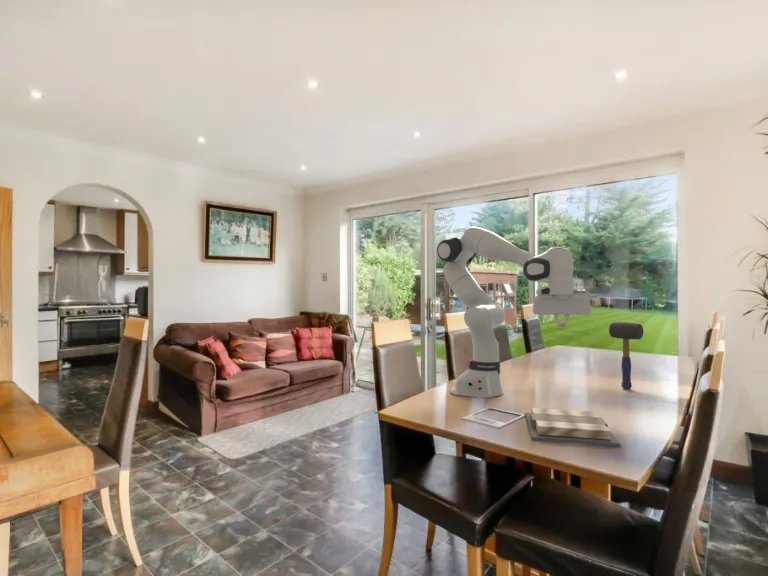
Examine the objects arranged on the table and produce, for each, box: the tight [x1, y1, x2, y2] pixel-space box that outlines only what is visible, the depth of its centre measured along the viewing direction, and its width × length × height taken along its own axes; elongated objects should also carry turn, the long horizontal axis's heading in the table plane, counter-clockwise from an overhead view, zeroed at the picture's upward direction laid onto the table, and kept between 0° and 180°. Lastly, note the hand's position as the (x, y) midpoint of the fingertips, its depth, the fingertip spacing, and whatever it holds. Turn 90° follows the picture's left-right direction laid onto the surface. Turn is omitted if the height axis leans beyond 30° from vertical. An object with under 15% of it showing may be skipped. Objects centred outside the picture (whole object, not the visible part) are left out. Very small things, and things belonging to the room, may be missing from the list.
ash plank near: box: [536, 420, 611, 440], centre depth 129 cm, size 20×7×2 cm, turn 76°
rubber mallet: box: [608, 321, 644, 390], centre depth 188 cm, size 12×8×30 cm, turn 37°
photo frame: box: [461, 406, 526, 429], centre depth 149 cm, size 15×1×18 cm
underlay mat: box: [524, 412, 621, 447], centre depth 136 cm, size 24×26×1 cm
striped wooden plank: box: [529, 412, 609, 429], centre depth 136 cm, size 22×7×2 cm, turn 76°
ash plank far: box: [531, 407, 599, 418], centre depth 143 cm, size 20×7×2 cm, turn 76°
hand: (561, 326), depth 158 cm, fingers closed
